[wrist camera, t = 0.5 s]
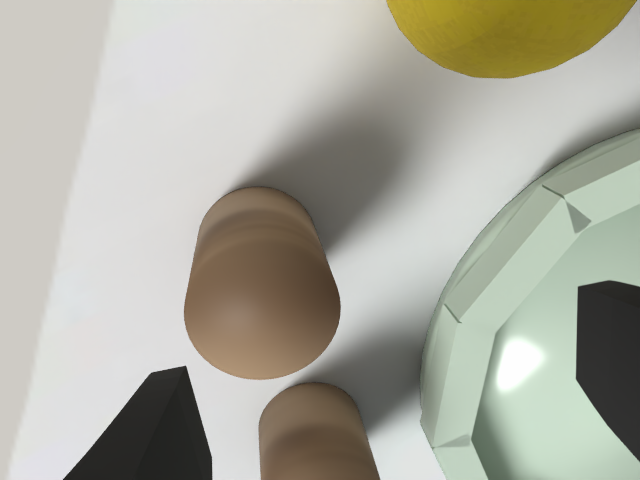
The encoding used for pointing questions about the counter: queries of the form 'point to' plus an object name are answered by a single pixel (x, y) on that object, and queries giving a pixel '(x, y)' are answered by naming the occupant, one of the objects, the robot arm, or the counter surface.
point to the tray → (533, 328)
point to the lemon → (505, 32)
